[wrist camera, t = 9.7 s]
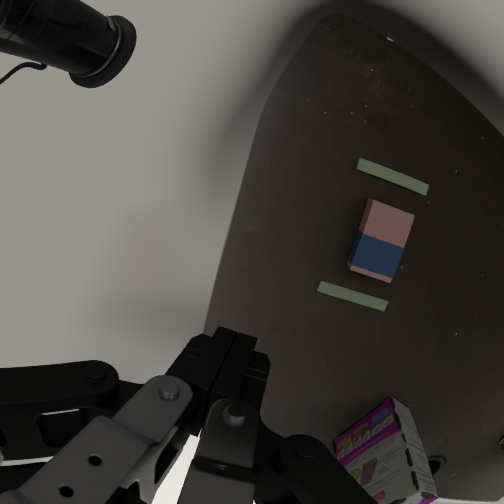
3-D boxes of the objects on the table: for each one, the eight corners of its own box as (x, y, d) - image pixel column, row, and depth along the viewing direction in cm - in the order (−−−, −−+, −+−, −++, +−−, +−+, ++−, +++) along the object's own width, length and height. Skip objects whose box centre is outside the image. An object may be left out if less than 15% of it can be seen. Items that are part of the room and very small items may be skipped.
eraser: (345, 262, 30) (349, 269, 27) (367, 198, 28) (373, 199, 26) (384, 275, 29) (391, 283, 27) (407, 213, 28) (415, 216, 25)
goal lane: (317, 290, 31) (317, 291, 31) (359, 158, 27) (359, 157, 27) (383, 310, 30) (384, 311, 30) (427, 185, 26) (429, 185, 26)
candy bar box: (354, 449, 36) (359, 538, 20) (332, 438, 36) (331, 533, 20) (412, 407, 32) (440, 499, 17) (391, 393, 32) (417, 492, 17)
